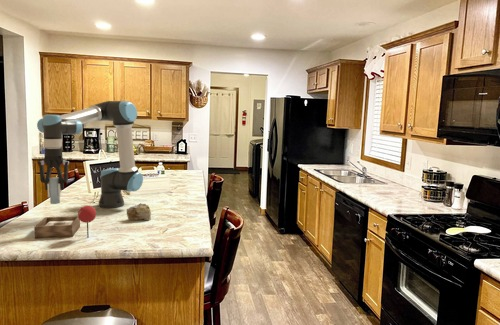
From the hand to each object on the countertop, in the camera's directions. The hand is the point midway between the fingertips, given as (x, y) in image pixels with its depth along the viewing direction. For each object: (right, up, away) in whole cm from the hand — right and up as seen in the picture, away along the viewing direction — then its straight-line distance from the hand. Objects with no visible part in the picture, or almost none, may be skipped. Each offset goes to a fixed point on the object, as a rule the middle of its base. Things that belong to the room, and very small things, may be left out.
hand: (55, 196), depth 181 cm
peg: (0, -3, 0) cm, 3 cm away
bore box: (+1, -17, +2) cm, 17 cm away
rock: (+32, -15, +27) cm, 45 cm away
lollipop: (+18, -19, -5) cm, 26 cm away
